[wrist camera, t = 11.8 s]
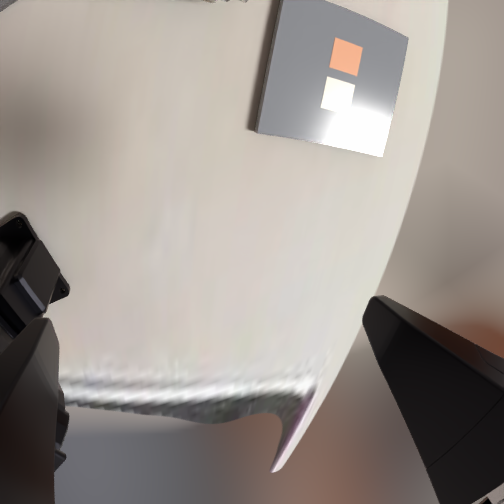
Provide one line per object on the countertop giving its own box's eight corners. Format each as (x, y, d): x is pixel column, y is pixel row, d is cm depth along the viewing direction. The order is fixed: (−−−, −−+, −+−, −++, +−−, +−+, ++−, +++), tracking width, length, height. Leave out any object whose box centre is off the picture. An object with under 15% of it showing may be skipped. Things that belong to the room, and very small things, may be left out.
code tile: (376, 154, 20) (382, 157, 20) (254, 131, 18) (257, 133, 17) (402, 37, 16) (408, 37, 16) (282, -10, 13) (286, -12, 13)
